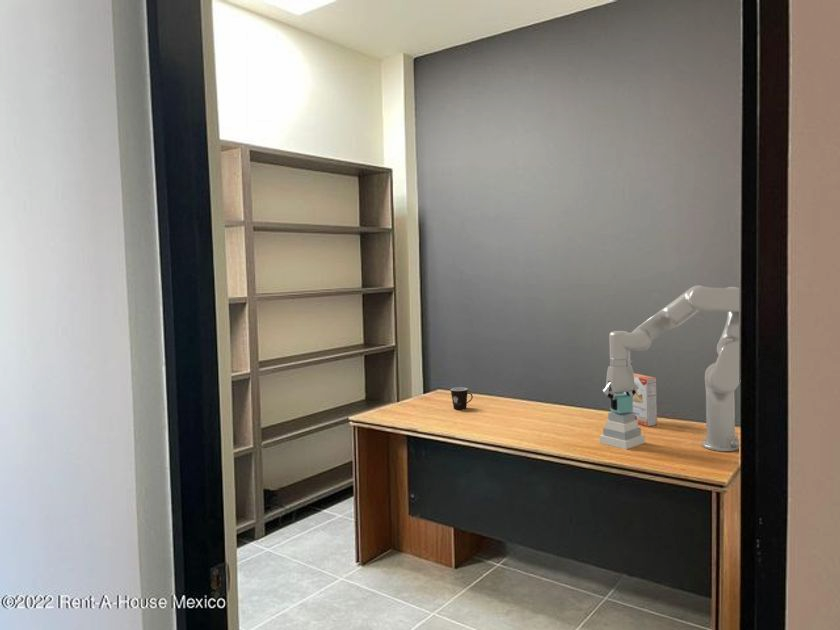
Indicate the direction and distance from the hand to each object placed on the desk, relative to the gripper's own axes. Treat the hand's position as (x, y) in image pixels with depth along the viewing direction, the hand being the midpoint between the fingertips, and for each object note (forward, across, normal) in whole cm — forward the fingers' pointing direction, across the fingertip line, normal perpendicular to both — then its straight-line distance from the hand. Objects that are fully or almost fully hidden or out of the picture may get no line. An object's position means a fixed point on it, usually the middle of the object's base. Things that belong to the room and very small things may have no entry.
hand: (621, 407), depth 235 cm
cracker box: (+14, -23, -21) cm, 34 cm away
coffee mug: (+14, +39, -81) cm, 91 cm away
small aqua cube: (+1, 0, 0) cm, 1 cm away
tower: (+14, 0, 0) cm, 14 cm away
